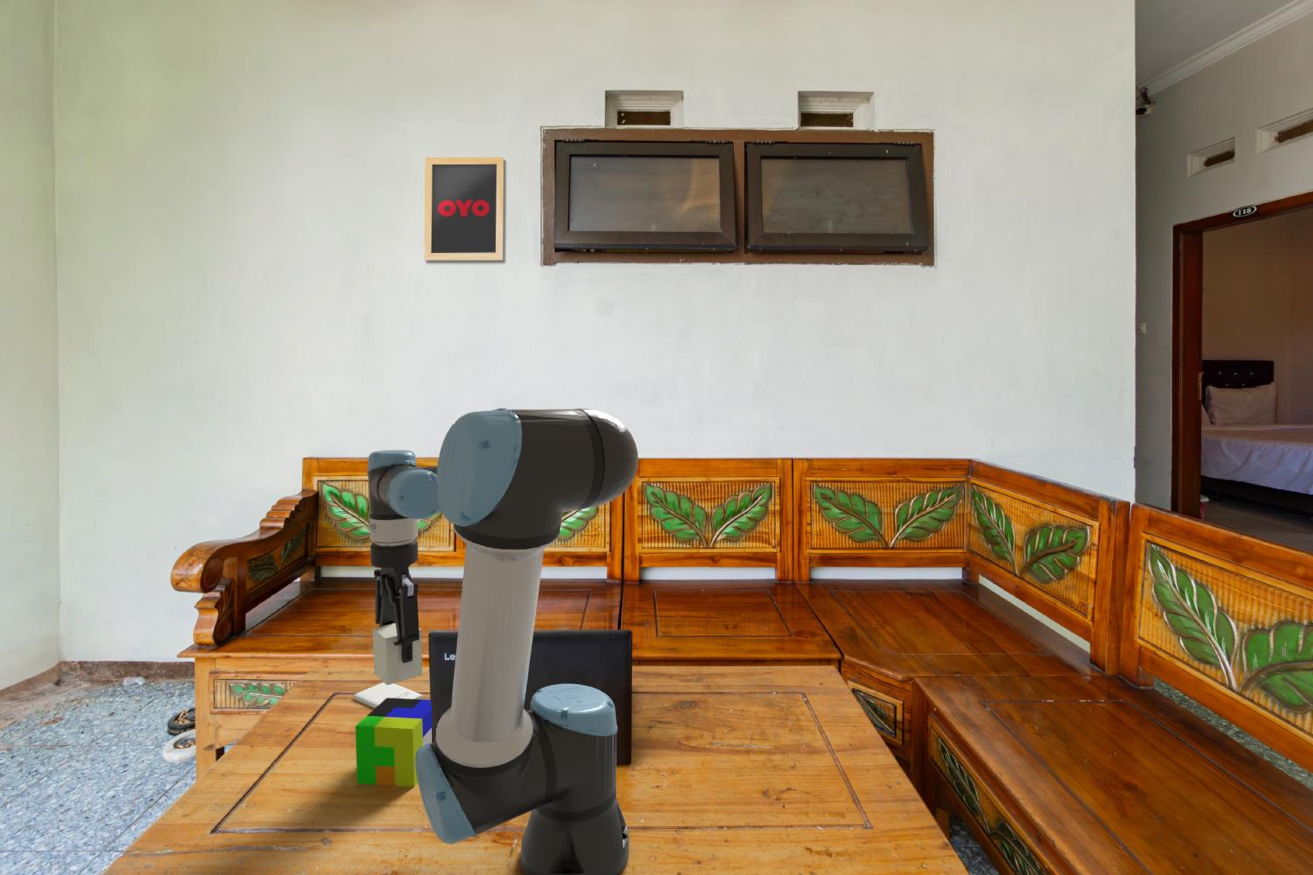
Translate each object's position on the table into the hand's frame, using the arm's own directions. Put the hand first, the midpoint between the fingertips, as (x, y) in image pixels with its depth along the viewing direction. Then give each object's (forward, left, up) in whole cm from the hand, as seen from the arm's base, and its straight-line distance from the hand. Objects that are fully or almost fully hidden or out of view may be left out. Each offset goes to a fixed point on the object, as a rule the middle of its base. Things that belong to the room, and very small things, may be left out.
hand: (397, 672), depth 109 cm
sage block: (0, 0, 0) cm, 0 cm away
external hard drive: (+27, -8, -18) cm, 33 cm away
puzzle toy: (0, 0, -17) cm, 17 cm away
